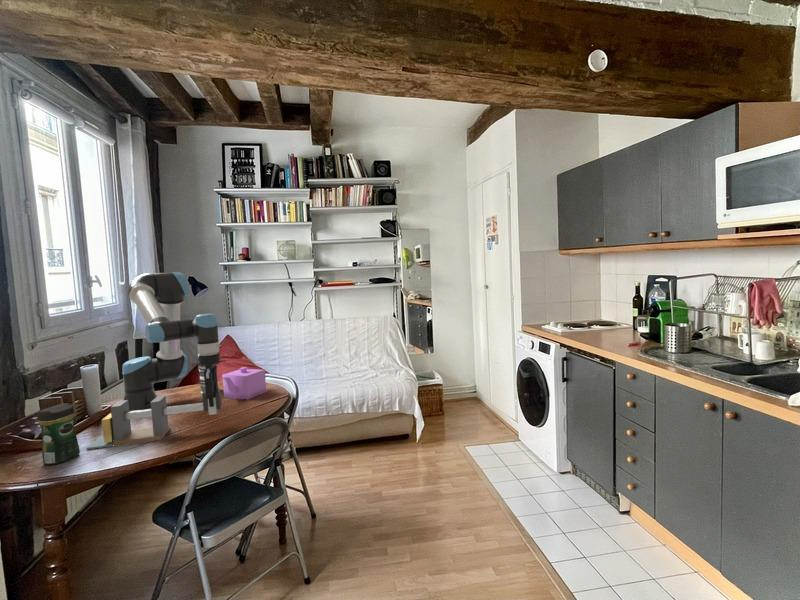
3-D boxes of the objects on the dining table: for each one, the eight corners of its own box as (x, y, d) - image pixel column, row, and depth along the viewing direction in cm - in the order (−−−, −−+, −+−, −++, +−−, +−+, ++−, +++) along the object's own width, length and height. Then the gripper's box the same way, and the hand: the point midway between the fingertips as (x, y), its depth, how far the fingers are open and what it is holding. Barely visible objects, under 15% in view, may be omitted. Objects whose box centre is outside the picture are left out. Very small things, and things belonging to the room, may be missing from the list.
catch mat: (101, 437, 162) (101, 435, 162) (125, 434, 164) (125, 432, 164) (86, 450, 151) (86, 448, 151) (112, 446, 153) (112, 444, 153)
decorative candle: (207, 394, 216) (202, 346, 215) (196, 393, 221) (191, 345, 219) (222, 390, 224) (218, 343, 223) (211, 388, 229) (207, 342, 227)
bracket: (124, 434, 164) (121, 399, 163) (170, 428, 168) (167, 394, 167) (112, 446, 153) (108, 408, 152) (161, 439, 157) (157, 402, 156)
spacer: (115, 432, 163) (113, 410, 162) (122, 431, 163) (120, 410, 163) (104, 442, 153) (101, 419, 152) (112, 441, 153) (109, 418, 153)
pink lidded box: (212, 402, 202) (210, 373, 202) (250, 388, 225) (248, 362, 224) (236, 404, 196) (234, 375, 196) (273, 389, 219) (270, 363, 218)
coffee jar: (66, 452, 149) (61, 401, 148) (84, 453, 147) (78, 401, 146) (37, 465, 140) (31, 410, 139) (55, 466, 138) (49, 410, 137)
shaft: (120, 419, 160) (118, 400, 160) (222, 406, 169) (220, 389, 168) (115, 422, 156) (113, 403, 156) (220, 409, 165) (218, 391, 165)
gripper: (215, 356, 157) (220, 418, 159) (222, 349, 174) (227, 404, 176) (193, 358, 156) (198, 420, 157) (203, 350, 172) (207, 407, 174)
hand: (213, 412), depth 166 cm, fingers closed on shaft, 4 cm apart
